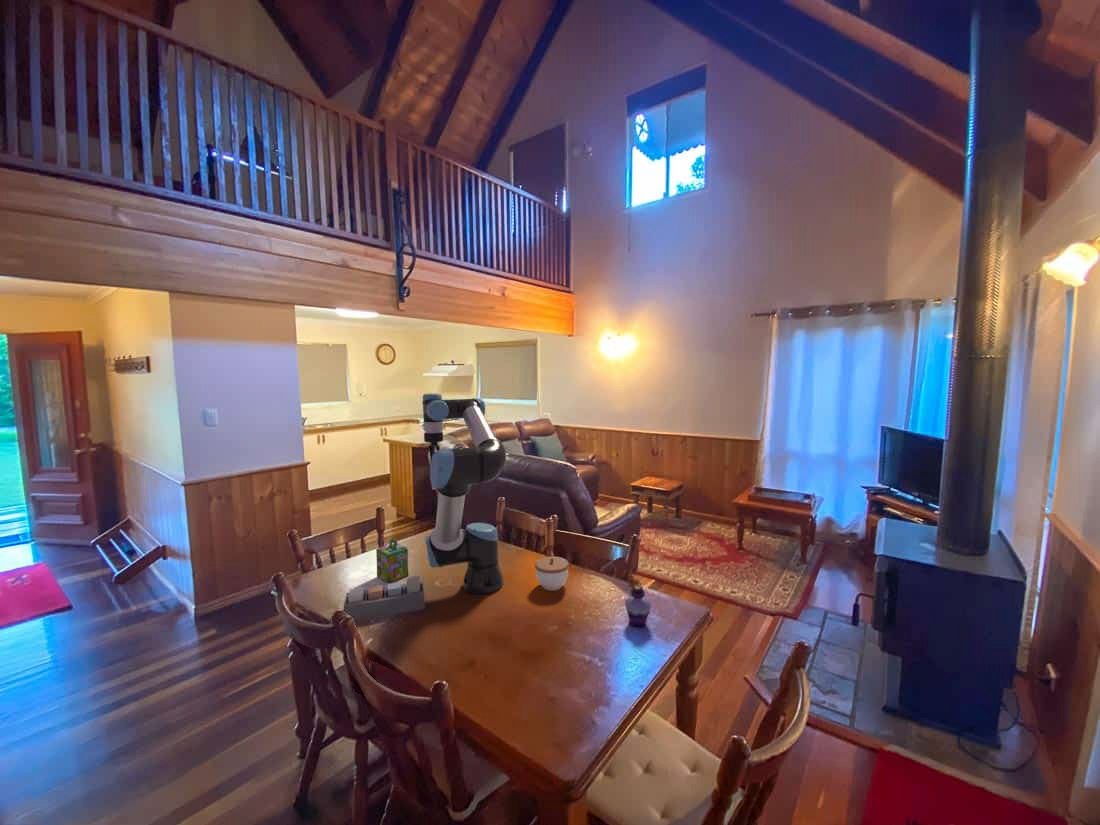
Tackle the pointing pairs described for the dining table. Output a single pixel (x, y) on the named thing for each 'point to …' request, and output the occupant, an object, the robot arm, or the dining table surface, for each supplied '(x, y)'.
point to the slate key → (394, 589)
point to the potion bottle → (637, 607)
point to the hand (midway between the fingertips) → (435, 488)
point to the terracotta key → (375, 592)
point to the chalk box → (392, 562)
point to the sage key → (413, 584)
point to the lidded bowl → (552, 572)
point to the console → (385, 604)
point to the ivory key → (356, 595)
